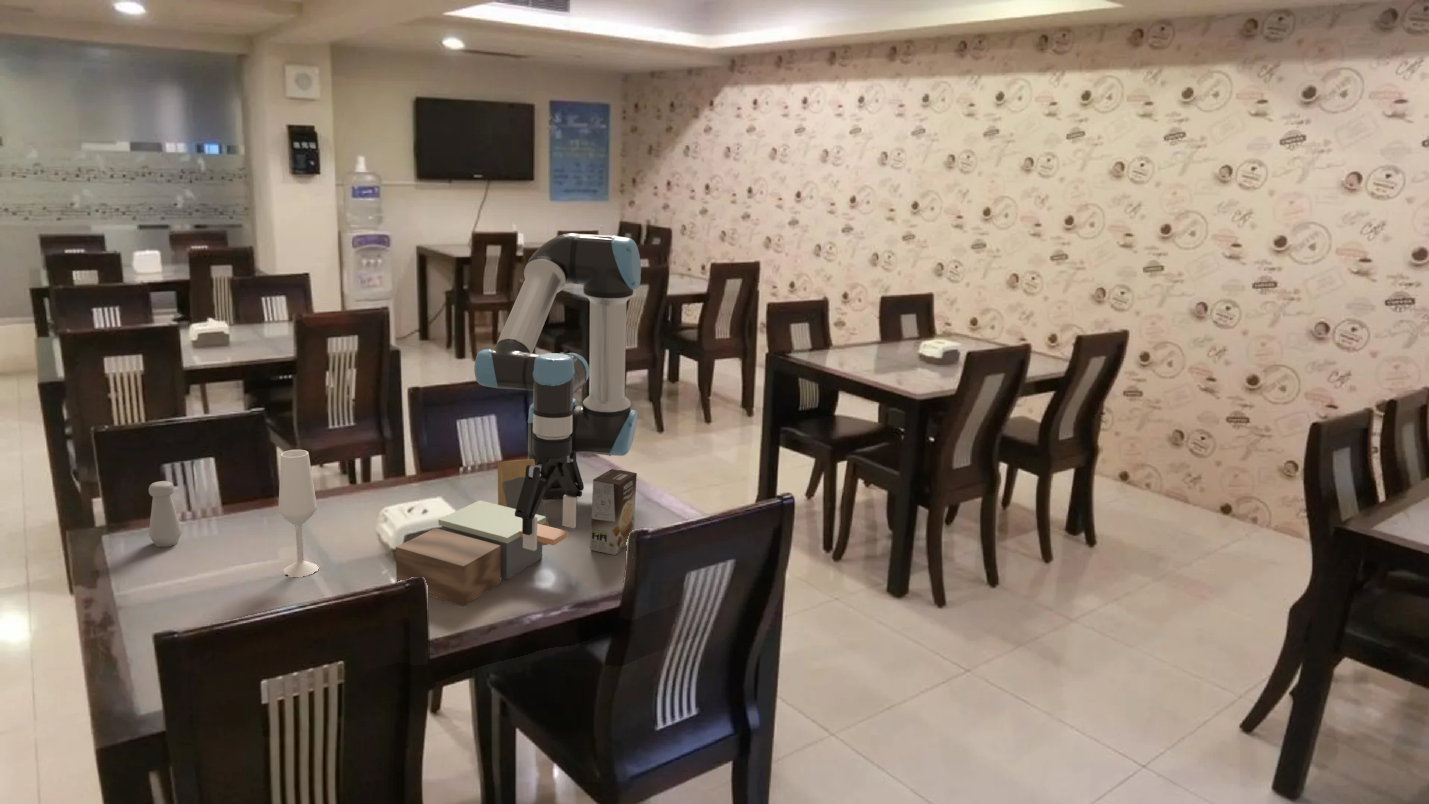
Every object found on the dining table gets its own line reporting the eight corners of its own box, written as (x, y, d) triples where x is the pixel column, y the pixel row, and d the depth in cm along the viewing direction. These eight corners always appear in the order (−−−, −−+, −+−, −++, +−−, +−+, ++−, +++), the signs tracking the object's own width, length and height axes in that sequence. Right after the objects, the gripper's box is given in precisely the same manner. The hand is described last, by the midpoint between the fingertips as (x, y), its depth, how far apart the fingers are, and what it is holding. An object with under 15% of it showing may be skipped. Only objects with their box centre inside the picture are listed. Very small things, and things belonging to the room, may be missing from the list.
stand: (435, 564, 185) (435, 528, 183) (500, 583, 179) (500, 545, 177) (396, 585, 175) (395, 546, 173) (463, 606, 169) (463, 566, 167)
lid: (479, 505, 196) (479, 500, 196) (578, 530, 186) (579, 524, 186) (438, 525, 184) (438, 519, 184) (541, 552, 175) (542, 546, 174)
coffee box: (616, 556, 194) (619, 485, 190) (589, 550, 196) (591, 479, 192) (634, 540, 203) (637, 472, 199) (608, 535, 205) (610, 467, 201)
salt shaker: (189, 541, 188) (184, 481, 185) (162, 551, 183) (156, 490, 180) (170, 535, 190) (164, 476, 187) (143, 544, 185) (137, 484, 182)
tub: (480, 541, 197) (480, 506, 195) (542, 558, 191) (542, 522, 189) (442, 561, 187) (442, 524, 185) (506, 579, 180) (507, 542, 178)
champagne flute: (278, 567, 179) (271, 451, 173) (314, 560, 183) (308, 446, 177) (287, 580, 174) (279, 461, 168) (324, 572, 178) (318, 456, 172)
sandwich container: (515, 550, 195) (516, 483, 191) (496, 524, 208) (496, 461, 204) (554, 544, 199) (555, 479, 195) (533, 519, 212) (534, 457, 208)
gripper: (571, 417, 189) (568, 514, 194) (496, 446, 166) (495, 554, 171) (602, 423, 186) (599, 521, 191) (530, 453, 163) (528, 563, 168)
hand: (550, 537), depth 181 cm, fingers open, 13 cm apart
